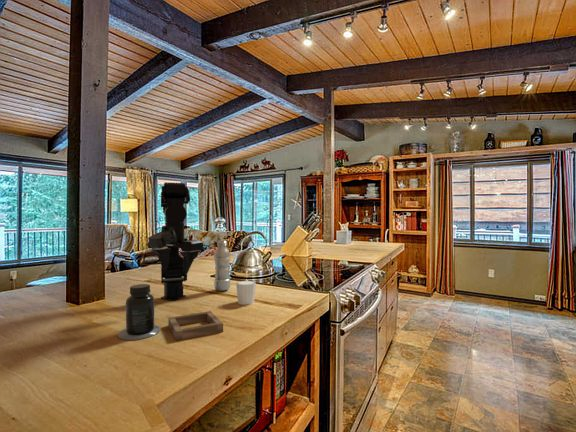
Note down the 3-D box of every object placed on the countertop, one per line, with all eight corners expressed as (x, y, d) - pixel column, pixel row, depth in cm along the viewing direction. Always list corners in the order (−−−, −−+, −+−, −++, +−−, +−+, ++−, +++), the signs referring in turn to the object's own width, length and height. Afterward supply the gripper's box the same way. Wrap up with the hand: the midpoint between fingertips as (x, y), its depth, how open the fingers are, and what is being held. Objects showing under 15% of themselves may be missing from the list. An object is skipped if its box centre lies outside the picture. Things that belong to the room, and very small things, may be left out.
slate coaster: (109, 335, 82) (109, 334, 82) (143, 323, 90) (143, 322, 90) (135, 343, 77) (135, 341, 77) (167, 329, 86) (167, 328, 86)
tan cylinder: (252, 305, 107) (252, 285, 107) (233, 304, 109) (233, 284, 109) (258, 300, 114) (258, 280, 114) (240, 299, 116) (240, 280, 115)
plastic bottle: (233, 289, 129) (233, 240, 129) (222, 293, 123) (222, 242, 123) (222, 287, 132) (222, 240, 132) (210, 291, 127) (210, 241, 126)
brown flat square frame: (168, 325, 89) (168, 317, 89) (210, 318, 95) (210, 311, 95) (176, 340, 78) (176, 332, 78) (223, 331, 84) (223, 323, 84)
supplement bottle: (129, 327, 86) (129, 283, 86) (156, 325, 88) (156, 282, 88) (122, 336, 80) (122, 289, 80) (151, 334, 81) (151, 288, 81)
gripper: (132, 222, 96) (132, 273, 97) (176, 224, 88) (176, 279, 88) (162, 221, 106) (162, 267, 107) (204, 222, 98) (204, 272, 98)
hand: (175, 271), depth 100 cm, fingers open, 9 cm apart
